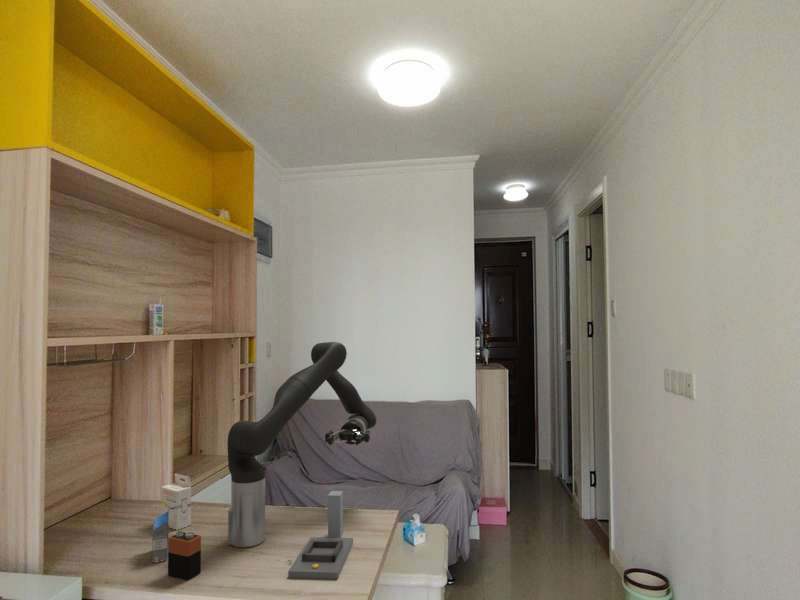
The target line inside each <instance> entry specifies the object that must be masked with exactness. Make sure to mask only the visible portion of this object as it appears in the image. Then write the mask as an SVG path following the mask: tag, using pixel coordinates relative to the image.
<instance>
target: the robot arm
mask: <svg viewBox="0 0 800 600" xmlns="http://www.w3.org/2000/svg"><path fill="white" fill-rule="evenodd" d="M310 357H311V361H312V363H313V364H311V365H309V366H307V367H305V368H303V369H300V370H298V371H297V372H295V373H294V374H292V375H291V376H289V377H288V379H286V380H285V381H284V382H283V383H282V385H280V387H278V389H277V391H276V392H275V394H274V395H275V396H274V400H273V405H272V408H271V409H270V410H269V411H268V413H267V414H266V415H264V417H262V418H261V419H260V420H259V421H250V420H239V421H237V422H235V423H234V424H232V425H231V427H230V429H229V432H228V435H227V444H226V445H227V463H228V464H227V467H228V471H229V473H230V476H231V477H230V479H231V480H230V481H231V484H230V485H231V489H230V490H231V493H230V494H231V498H230V501H231V502H230V507H229V509H228V510H227V512H228V515H227V521H228V523H227V526H228V527H227V545H228V546H229V545H231V546H233V547H236V548H251V547H255V546H258V545H260V544H261V543H263V542H264V541H266V540H265V539H266V469H265V467H264V465H263V464H261V463H260V462H259V461H258V459H257V458H256V456H261V455H263V453H266V452H267V450H268V449H270V446H271V445H272V444H273V443H274V442H275V440H276V438H277V437H278V435H280V433H281V432H282V430H283V428H284V427H285V426H286V425H287V424H288V423H289V421H290V420H291V419H292V418H293V417H294V416H295V415H296V413H298V411H299V410H300V409H301V408H302V407H303V406H304V405H305V404H306V403H307V402H308V400H309V399H310V398H311V397H312V396H313V394H315V392H316V391H317V390H319V388H320V387H321V386H322V385H323V384H324V383H325V382H327V383H328V385H330V387H331V389H332V390H333V391H334V392H335V394H336V395H337V397H338V399H339V401H340V403H341V405H342V407H343V409H344V410H345V412H346V413H347V414H350V416H349V417H348V418H347V420H346V422H345V423H344V424H343V425H342V426H341V428H340V430H337V431H335V432H334V431H333V430H329V431H328V432H326V433H325V434H324V439H325V440H324V443H327V444H328V445H330V446H332V445H333V444H334V443H338V444H339V443H345V444H347V445H356V446H359V445H360V444H362V443H364V442H365V443H369V442H370V439H371V431H370V429H372V428H375V426H376V424H377V416H376V415H375V413H374V412H373V410H372V409H371V408H370V407H369V406H367V404H366V403H365V402H364V401H363V400H362V398H361V396H360V393H359V392H358V390H357V389H356V387H355V386H354V384H353V383H352V382H351V381H349V380H348V379H347V378H345V376H343V374H341V373H340V372H339V371H338V370H339V369H340V368H342V366H343V365H344V363H345V362H346V358H347V348H346V346H345V345H344V344H343V343H341V342H338V341H326V342H319V343H316V344H314V345H313V347H312V349H311V351H310Z"/></svg>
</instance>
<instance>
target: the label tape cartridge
mask: <svg viewBox="0 0 800 600" xmlns="http://www.w3.org/2000/svg"><path fill="white" fill-rule="evenodd" d="M169 505H170V502H169ZM152 525H153V527H152V538H151V539H152V548H151V551H152V554H151V563H152V562H156V561H161V560H167V561H168V538H169V537H170V536H169V533H170V532H169V529H170V528H169V509H168V512H166V513H164V514H163V515H159V516H157V517H155V518H154V520H153V524H152Z"/></svg>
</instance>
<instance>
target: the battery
mask: <svg viewBox="0 0 800 600" xmlns="http://www.w3.org/2000/svg"><path fill="white" fill-rule="evenodd" d="M201 561H202V536H201V535H199V534H195V532H194V531H188V532H184V531H182V530H177V531H176V532H175V534H173V535H172V536H169V538H168V559H167V576H169V575H170V576H169V577H172V576H173V577H172V578H176V577H177V579H180V578H181V579H182V580H184V579H185V580H184V581H189V580H191V579H193V578H194V577H196V576H198V575H199V574H200V573H201V571H202V569H201V565H202V564H201V563H202V562H201ZM192 577H193V578H192Z"/></svg>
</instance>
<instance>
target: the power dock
mask: <svg viewBox="0 0 800 600" xmlns="http://www.w3.org/2000/svg"><path fill="white" fill-rule="evenodd" d="M353 545H354V537H341V538H331V537H328V536H327V537H323V536H321V537H320V536H310V537H309V538H308V540H307V542H306V543H305V545H304V547H303V548H302V549H301V551H300V553H299V554H298V555H297V557H296V559H295V561H294V562H293V563H292V565H291V566H290V568H289V570H288V573H287V575H288V576H287V577H288V578H289V579H316V580H317V579H319V580H338V579H339V578H340V574H341V572H342V570H343V569H344V565H345V564H346V561H347V559H348V556H349V554H350V552H351V549H352V547H353Z"/></svg>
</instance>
